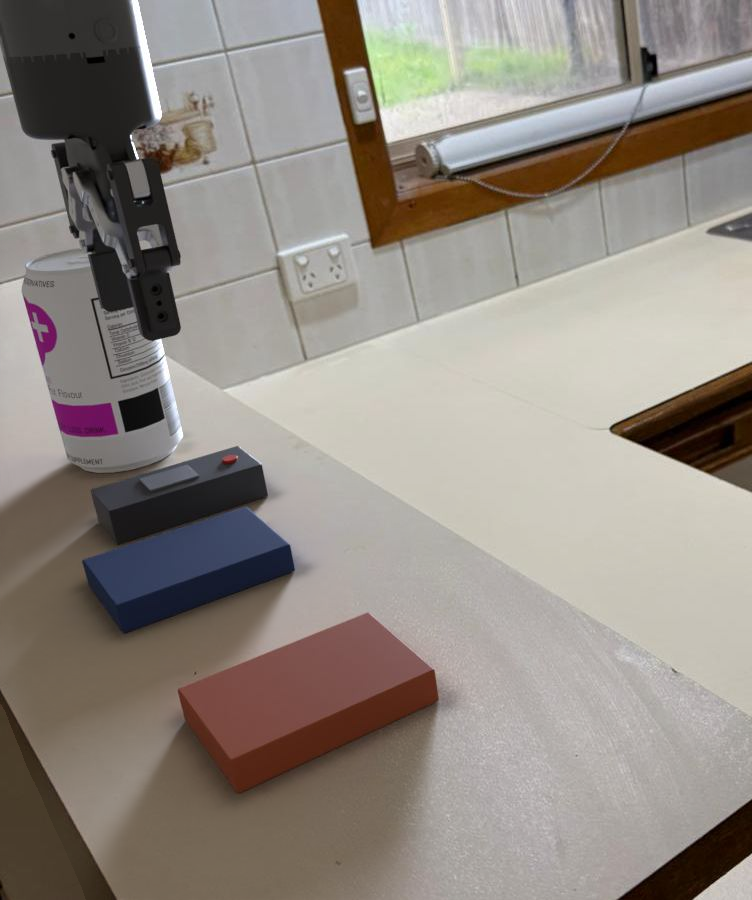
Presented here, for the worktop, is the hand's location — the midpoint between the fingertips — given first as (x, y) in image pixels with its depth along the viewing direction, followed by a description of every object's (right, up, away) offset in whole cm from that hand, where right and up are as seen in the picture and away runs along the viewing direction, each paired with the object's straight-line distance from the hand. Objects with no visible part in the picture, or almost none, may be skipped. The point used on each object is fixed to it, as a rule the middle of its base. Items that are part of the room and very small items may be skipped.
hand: (140, 322), depth 70 cm
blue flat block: (+4, -15, -3) cm, 16 cm away
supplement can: (-7, -8, +16) cm, 19 cm away
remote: (+1, -12, +6) cm, 13 cm away
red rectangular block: (+14, -20, -16) cm, 29 cm away
